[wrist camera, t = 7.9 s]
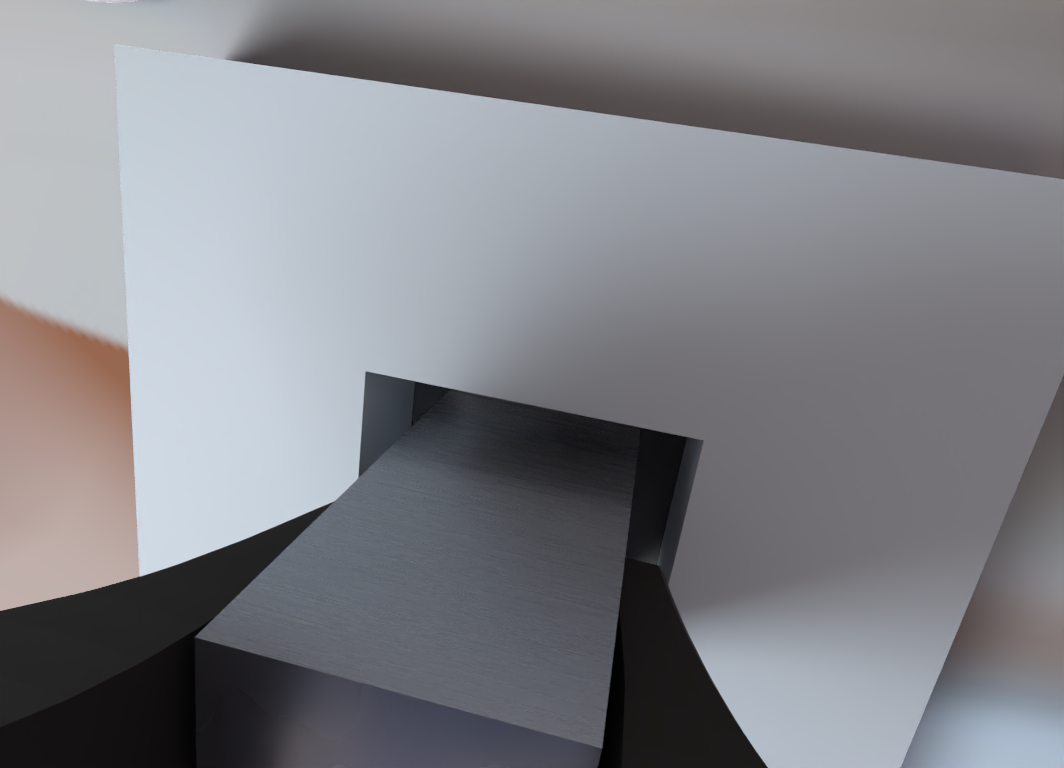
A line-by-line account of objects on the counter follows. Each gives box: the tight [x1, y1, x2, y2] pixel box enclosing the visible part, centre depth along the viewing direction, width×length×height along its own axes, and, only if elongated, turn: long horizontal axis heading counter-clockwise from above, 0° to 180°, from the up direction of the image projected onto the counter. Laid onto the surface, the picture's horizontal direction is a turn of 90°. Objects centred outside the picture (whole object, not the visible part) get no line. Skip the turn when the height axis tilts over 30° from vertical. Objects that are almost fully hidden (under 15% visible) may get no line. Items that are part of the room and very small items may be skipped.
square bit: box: [195, 389, 641, 768], centre depth 10 cm, size 4×4×8 cm
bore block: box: [114, 44, 1064, 768], centre depth 13 cm, size 14×14×2 cm
